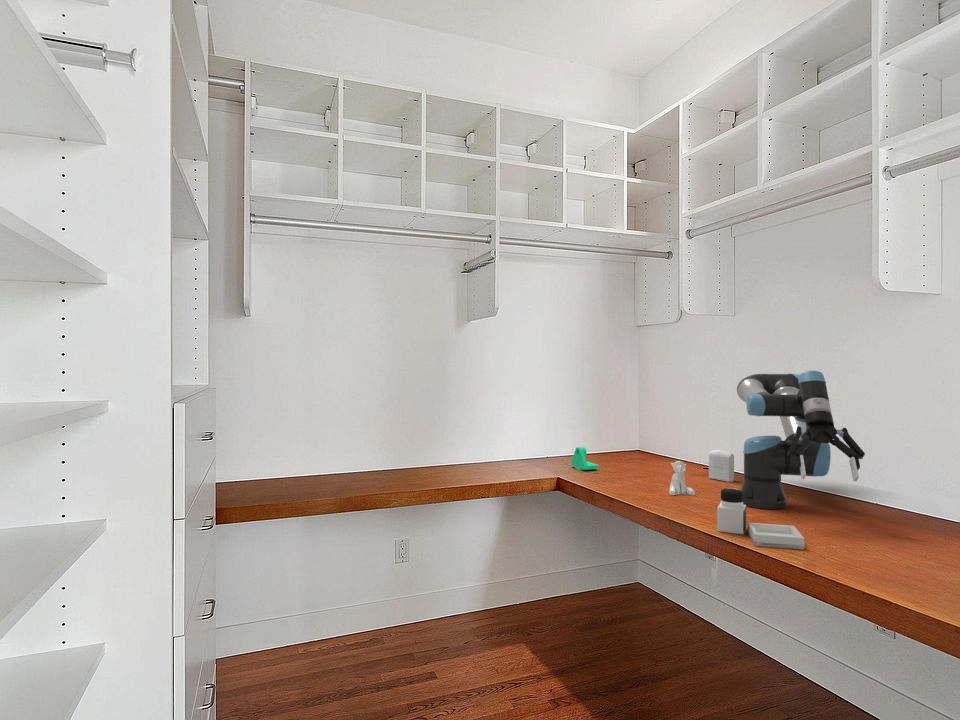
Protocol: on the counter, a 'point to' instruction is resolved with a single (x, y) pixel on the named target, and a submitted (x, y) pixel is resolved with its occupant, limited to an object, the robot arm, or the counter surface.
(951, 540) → the counter surface
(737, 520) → the medicine bottle
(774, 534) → the grey square tray
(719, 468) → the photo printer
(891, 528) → the counter surface
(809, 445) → the robot arm
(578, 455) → the green angular piece
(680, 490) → the white creature statuette
